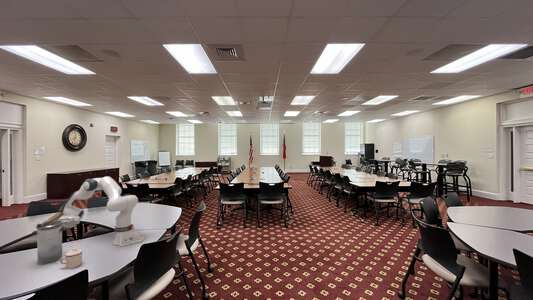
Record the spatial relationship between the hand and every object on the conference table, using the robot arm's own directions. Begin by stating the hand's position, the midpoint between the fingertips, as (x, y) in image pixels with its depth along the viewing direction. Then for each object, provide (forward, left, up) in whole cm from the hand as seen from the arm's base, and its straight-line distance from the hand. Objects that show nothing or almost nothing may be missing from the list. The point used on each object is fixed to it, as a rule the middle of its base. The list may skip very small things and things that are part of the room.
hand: (62, 219), depth 191 cm
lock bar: (0, +19, +5) cm, 19 cm away
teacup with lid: (-16, +46, -21) cm, 53 cm away
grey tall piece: (0, +29, -21) cm, 36 cm away
